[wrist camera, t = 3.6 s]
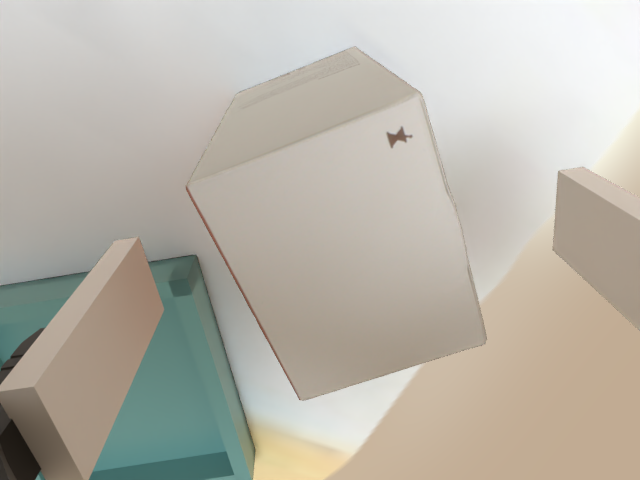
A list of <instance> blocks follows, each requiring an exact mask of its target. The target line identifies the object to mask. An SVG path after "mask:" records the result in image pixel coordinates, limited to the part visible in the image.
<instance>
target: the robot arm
mask: <svg viewBox="0 0 640 480" xmlns="http://www.w3.org/2000/svg"><path fill="white" fill-rule="evenodd" d="M553 239H554V240H553V251H554V252H555V253H556V254H557V255H559V256H560V257H561V258H562V259H563V260H564V261H565V262H566V263H567V264H568V265H569V266H570V267H572V268H573V269H574V270H575V271H576V272H577V273H578V274H579V275H580V276H581V277H582V278H583V279H584V280H585V281H587V282H588V283H589V284H590V285H591V286H592V287H593V288H594V289H595V290H596V291H597V292H598V293H599V294H600V295H602V296H603V297H604V298H605V299H606V300H607V301H608V302H609V303H610V304H611V305H612V306H613V307H614V308H616V309H617V310H618V311H619V312H620V313H621V314H622V315H623V316H624V317H625V318H626V319H627V320H628V321H630V322H631V323H632V324H633V325H634V326H635V327H636V328H637V329H638V330H639V331H640V197H638V196H636V195H634V194H632V193H631V192H629V191H627V190H625V189H623V188H621V187H620V186H618V185H616V184H614V183H612V182H610V181H608V180H607V179H605V178H603V177H601V176H599V175H597V174H595V173H594V172H592V171H590V170H588V169H586V168H584V167H579V168H573V169H566V170H560V171H558V180H557V194H556V209H555V225H554V238H553ZM163 311H164V307H163V304H162V301H161V299H160V296H159V293H158V290H157V287H156V284H155V281H154V279H153V276H152V273H151V270H150V267H149V264H148V261H147V259H146V256H145V253H144V250H143V247H142V244H141V242H140V239H139V237H134V238H128V239H121V240H115V241H114V242H113V244H112V245H111V246H110V247H109V249H108V250H107V251H106V252H105V254H104V255H103V256H102V257H101V259H100V260H99V261H98V262H97V264H96V265H95V266H94V267H93V269H92V270H91V271H90V273H89V274H88V275H87V276H86V278H85V279H84V280H83V281H82V283H81V284H80V285H79V286H78V288H77V289H76V290H75V291H74V293H73V294H72V295H71V296H70V298H69V299H68V300H67V301H66V303H65V304H64V305H63V307H62V308H61V309H60V310H59V312H58V313H57V314H56V315H55V317H54V318H53V319H52V320H51V322H50V323H49V324H48V325H47V327H46V328H40V329H39V330H38V331H36V332H35V333H34V334H32V335H31V336H30V337H28V338H27V339H26V340H24V341H23V342H22V343H21V344H20V345H19V346H18V348H17V349H16V350H15V351H14V352H13V354H12V355H11V356H10V359H8V360H7V361H6V362H5V363H4V364H3V366H2V367H1V368H0V369H1V371H0V480H35V479H36V478H37V476H38V474H39V472H40V471H41V473H42V474H43V476H44V478H45V479H46V480H89V478H90V476H91V474H92V471H93V469H94V467H95V465H96V462H97V460H98V458H99V456H100V453H101V451H102V449H103V447H104V444H105V442H106V440H107V438H108V435H109V433H110V431H111V429H112V426H113V424H114V422H115V420H116V417H117V415H118V413H119V411H120V408H121V406H122V404H123V402H124V399H125V397H126V395H127V393H128V390H129V388H130V386H131V384H132V381H133V379H134V377H135V375H136V372H137V370H138V368H139V366H140V363H141V361H142V359H143V357H144V354H145V352H146V350H147V348H148V345H149V343H150V341H151V339H152V336H153V334H154V332H155V330H156V327H157V325H158V323H159V321H160V318H161V316H162V314H163Z"/></svg>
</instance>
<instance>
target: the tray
mask: <svg viewBox="0 0 640 480" xmlns="http://www.w3.org/2000/svg"><path fill="white" fill-rule="evenodd" d="M148 264H149V267H150V270H151V273H152V276H153V279H154V281H155V284H156V287H157V290H158V293H159V296H160V299H161V301H162V304H163V307H164V311H163V314H162V316H161V318H160V321H159V323H158V325H157V327H156V330H155V332H154V334H153V336H152V339H151V341H150V343H149V345H148V348H147V350H146V352H145V354H144V357H143V359H142V361H141V363H140V366H139V368H138V370H137V372H136V375H135V377H134V379H133V381H132V384H131V386H130V388H129V390H128V393H127V395H126V397H125V399H124V402H123V404H122V406H121V408H120V411H119V413H118V415H117V417H116V420H115V422H114V424H113V426H112V429H111V431H110V433H109V435H108V438H107V440H106V442H105V444H104V447H103V449H102V451H101V453H100V456H99V458H98V460H97V462H96V465H95V467H94V469H93V471H92V474H91V476H90V478H89V480H253V473H254V460H255V447H254V444H253V441H252V438H251V434H250V431H249V428H248V424H247V421H246V418H245V414H244V411H243V408H242V405H241V401H240V398H239V395H238V391H237V388H236V385H235V381H234V378H233V375H232V372H231V368H230V365H229V362H228V358H227V355H226V352H225V348H224V345H223V342H222V338H221V335H220V332H219V329H218V325H217V322H216V319H215V315H214V312H213V309H212V305H211V302H210V299H209V296H208V292H207V289H206V286H205V282H204V279H203V276H202V272H201V269H200V266H199V263H198V259H197V256H196V255H191V256H184V257H178V258H172V259H166V260H159V261H153V262H148ZM89 273H90V272H84V273H78V274H72V275H65V276H59V277H53V278H47V279H40V280H34V281H28V282H22V283H15V284H9V285H3V286H0V368H1V367H2V366H3V364H4V363H5V362H6V361H7V360H8V359H10V356H11V355H12V354H13V352H14V351H15V350H16V349H17V348H18V346H19V345H20V344H21V343H22V342H23V341H24V340H26V339H27V338H28V337H30V336H31V335H32V334H34V333H35V332H36V331H38V330H39V329H40V328H46V327H47V325H48V324H49V323H50V322H51V320H52V319H53V318H54V317H55V315H56V314H57V313H58V312H59V310H60V309H61V308H62V307H63V305H64V304H65V303H66V301H67V300H68V299H69V298H70V296H71V295H72V294H73V293H74V291H75V290H76V289H77V288H78V286H79V285H80V284H81V283H82V281H83V280H84V279H85V278H86V276H87V275H88V274H89ZM0 371H1V369H0ZM35 480H46V479H45V478H44V476H43V474H42V473H41V471H40V472H39V474H38V476H37V478H36V479H35Z"/></svg>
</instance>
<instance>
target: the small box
mask: <svg viewBox="0 0 640 480" xmlns="http://www.w3.org/2000/svg"><path fill="white" fill-rule="evenodd" d="M186 190H187V192H188V194H189V196H190V198H191V200H192V202H193V204H194V205H195V207H196V209H197V211H198V213H199V215H200V217H201V218H202V220H203V222H204V224H205V226H206V228H207V229H208V231H209V233H210V235H211V237H212V239H213V241H214V242H215V244H216V246H217V248H218V250H219V252H220V254H221V255H222V257H223V259H224V261H225V263H226V265H227V266H228V268H229V270H230V272H231V274H232V276H233V278H234V280H235V282H236V283H237V285H238V287H239V289H240V291H241V292H242V294H243V296H244V298H245V300H246V302H247V304H248V306H249V308H250V309H251V311H252V313H253V315H254V316H255V318H256V320H257V322H258V324H259V326H260V328H261V330H262V332H263V334H264V335H265V337H266V339H267V341H268V342H269V344H270V346H271V348H272V350H273V352H274V354H275V356H276V357H277V359H278V361H279V363H280V365H281V366H282V368H283V370H284V372H285V374H286V376H287V378H288V379H289V381H290V383H291V385H292V387H293V389H294V390H295V392H296V394H297V396H298V398H299V400H303V401H304V400H308V399H311V398H314V397H317V396H320V395H324V394H327V393H330V392H333V391H337V390H340V389H343V388H346V387H349V386H352V385H355V384H359V383H362V382H365V381H368V380H371V379H374V378H378V377H381V376H384V375H387V374H390V373H394V372H397V371H400V370H403V369H406V368H409V367H413V366H416V365H419V364H422V363H425V362H429V361H432V360H435V359H438V358H441V357H445V356H448V355H451V354H454V353H457V352H461V351H464V350H467V349H470V348H475V347H478V346H482V345H483V344H485V343H486V339H487V337H486V332H485V327H484V323H483V318H482V314H481V310H480V306H479V302H478V297H477V294H476V290H475V286H474V282H473V277H472V273H471V269H470V265H469V261H468V257H467V252H466V247H465V241H464V237H463V233H462V229H461V225H460V222H459V218H458V215H457V210H456V206H455V203H454V200H453V198H452V195H451V193H450V190H449V187H448V184H447V181H446V177H445V174H444V170H443V166H442V163H441V160H440V156H439V152H438V148H437V145H436V141H435V137H434V134H433V130H432V127H431V123H430V120H429V116H428V113H427V109H426V106H425V102H424V99H423V96H422V94H421V93H420V91H418V90H417V89H415V88H414V87H412V86H411V85H409V84H408V83H407V82H405V81H404V80H402V79H401V78H399V77H398V76H396V75H395V74H394V73H392V72H391V71H389V70H388V69H386V68H385V67H384V66H382V65H381V64H379V63H378V62H376V61H375V60H373V59H372V58H370V57H369V56H368V55H366V54H365V53H364V52H362V51H361V50H359V49H358V48H357V47H352V48H350V49H347V50H345V51H342V52H340V53H337V54H335V55H332V56H330V57H327V58H325V59H322V60H320V61H317V62H315V63H312V64H310V65H307V66H305V67H302V68H300V69H297V70H295V71H292V72H290V73H287V74H285V75H282V76H279V77H277V78H274V79H272V80H269V81H267V82H264V83H262V84H259V85H257V86H254V87H252V88H249V89H247V90H244V91H242V92H239V93H237V94H236V96H235V98H234V99H233V101H232V103H231V105H230V107H229V108H228V110H227V112H226V113H225V115H224V117H223V119H222V121H221V123H220V125H219V127H218V128H217V130H216V132H215V134H214V136H213V138H212V139H211V141H210V143H209V145H208V147H207V149H206V150H205V152H204V154H203V156H202V158H201V159H200V162H199V163H198V165H197V167H196V168H195V171H194V172H193V174H192V176H191V178H190V180H189V182H188V183H187V185H186Z"/></svg>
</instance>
